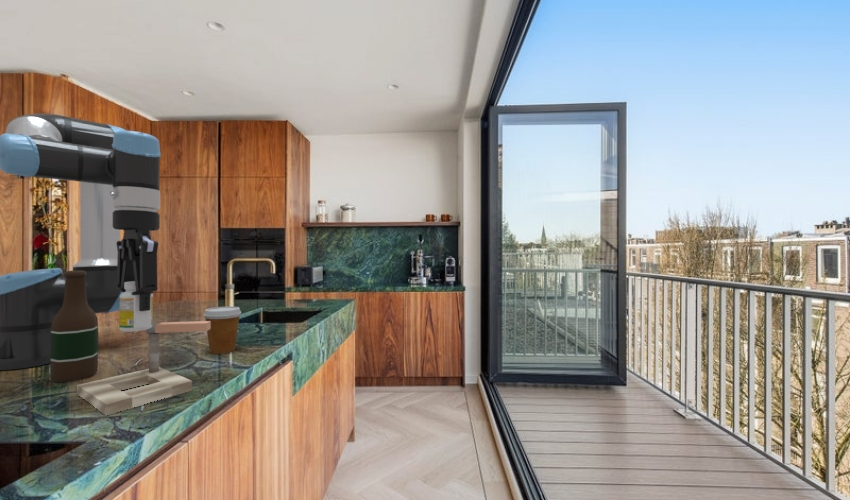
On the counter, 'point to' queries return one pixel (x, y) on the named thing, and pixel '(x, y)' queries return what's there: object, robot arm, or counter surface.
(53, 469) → the counter surface
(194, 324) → the bar
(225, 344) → the disposable coffee cup
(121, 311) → the supplement bottle
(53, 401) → the counter surface
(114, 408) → the keeper board
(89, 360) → the beer bottle
